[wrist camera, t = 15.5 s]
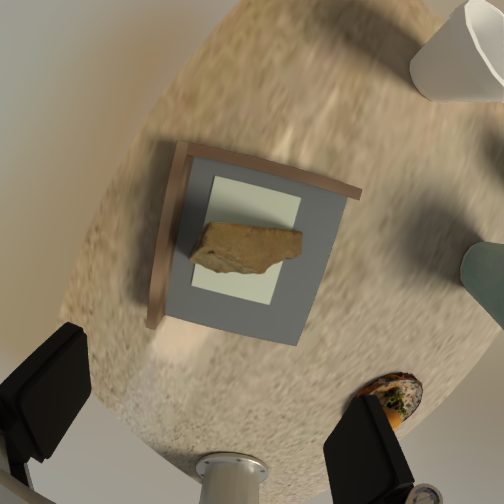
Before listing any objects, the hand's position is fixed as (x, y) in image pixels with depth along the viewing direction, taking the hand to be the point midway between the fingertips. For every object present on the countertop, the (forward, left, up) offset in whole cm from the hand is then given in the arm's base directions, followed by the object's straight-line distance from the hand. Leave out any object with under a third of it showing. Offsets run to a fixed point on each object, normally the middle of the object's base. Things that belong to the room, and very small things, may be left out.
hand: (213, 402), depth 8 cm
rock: (0, 0, -20) cm, 20 cm away
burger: (-18, -25, -21) cm, 38 cm away
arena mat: (-1, 0, -21) cm, 21 cm away
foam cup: (+24, -15, -21) cm, 36 cm away
